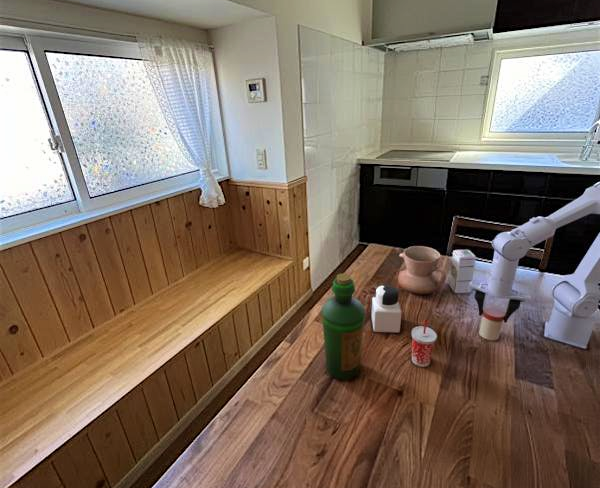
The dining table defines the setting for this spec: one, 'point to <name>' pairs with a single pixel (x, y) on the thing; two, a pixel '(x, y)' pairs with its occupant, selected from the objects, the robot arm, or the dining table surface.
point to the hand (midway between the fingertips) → (492, 317)
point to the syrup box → (462, 270)
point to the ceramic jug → (421, 270)
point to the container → (386, 310)
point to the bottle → (343, 329)
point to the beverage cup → (422, 344)
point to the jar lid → (493, 313)
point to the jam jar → (490, 329)
